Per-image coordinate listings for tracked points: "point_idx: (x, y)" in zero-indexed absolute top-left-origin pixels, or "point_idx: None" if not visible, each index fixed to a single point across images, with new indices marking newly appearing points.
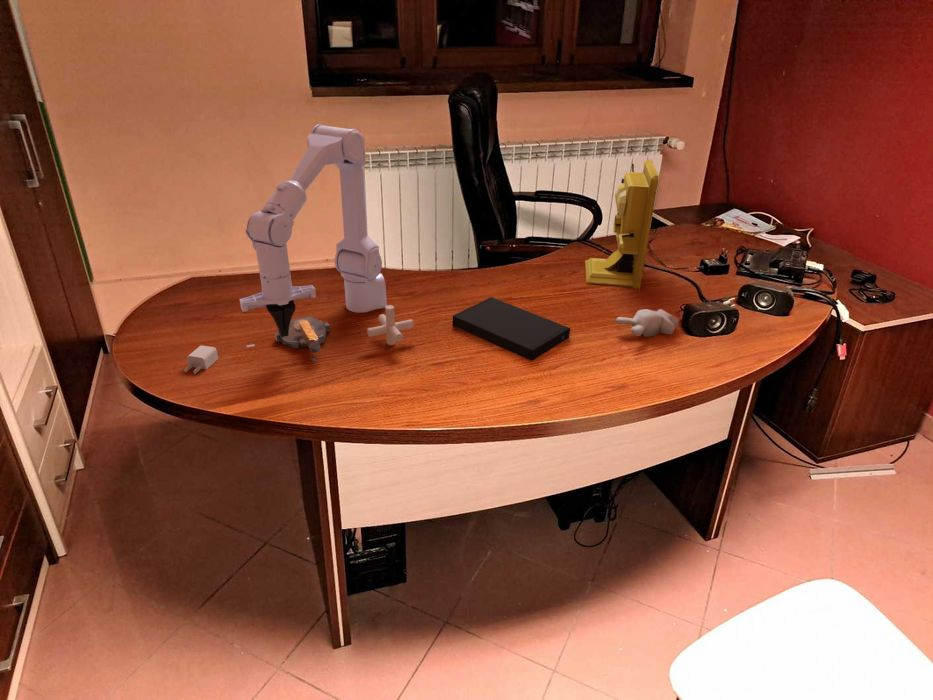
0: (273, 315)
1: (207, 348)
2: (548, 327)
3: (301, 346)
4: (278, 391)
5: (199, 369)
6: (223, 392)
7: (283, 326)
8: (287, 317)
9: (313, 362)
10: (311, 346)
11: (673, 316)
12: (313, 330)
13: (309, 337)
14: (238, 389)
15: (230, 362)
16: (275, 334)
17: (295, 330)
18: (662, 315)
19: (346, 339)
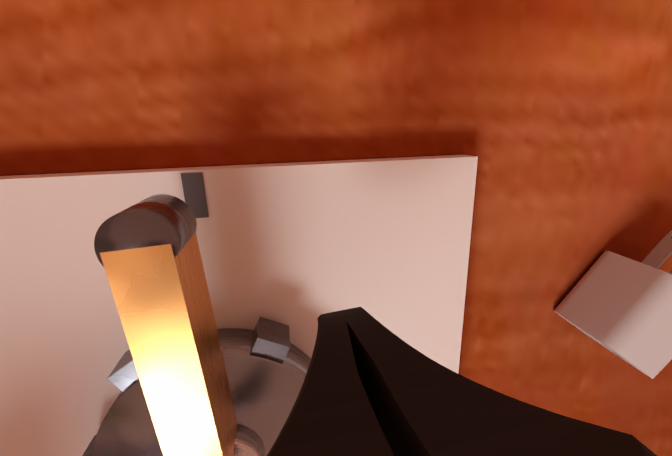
0: (578, 430)
1: (642, 350)
2: None
3: (246, 331)
4: (397, 11)
5: (652, 252)
6: (591, 100)
7: (366, 349)
8: (336, 423)
9: (200, 174)
10: (176, 213)
11: None
12: (137, 372)
13: (172, 286)
14: (539, 101)
15: (515, 308)
16: None
17: (258, 438)
18: None
19: None
